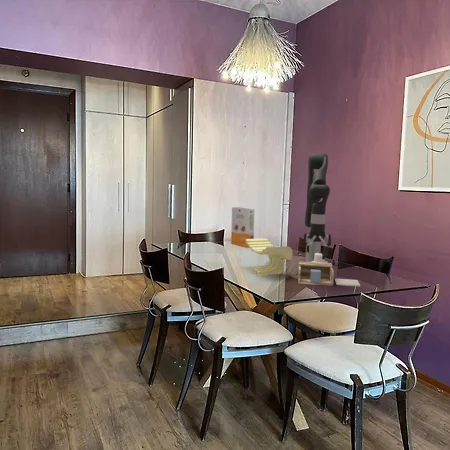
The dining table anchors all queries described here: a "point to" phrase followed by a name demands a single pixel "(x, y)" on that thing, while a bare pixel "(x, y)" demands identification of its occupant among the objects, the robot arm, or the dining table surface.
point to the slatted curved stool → (274, 253)
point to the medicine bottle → (319, 258)
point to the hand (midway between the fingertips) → (316, 253)
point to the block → (315, 276)
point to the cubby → (306, 267)
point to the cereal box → (242, 226)
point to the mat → (347, 282)
